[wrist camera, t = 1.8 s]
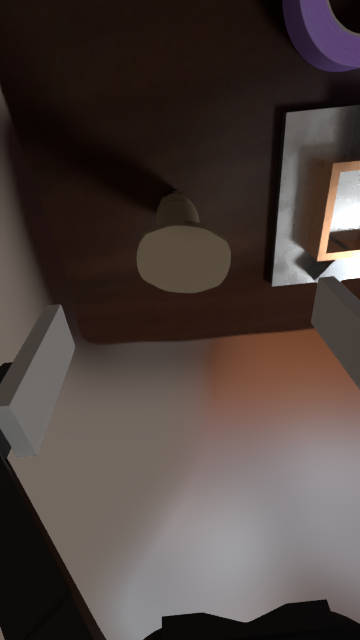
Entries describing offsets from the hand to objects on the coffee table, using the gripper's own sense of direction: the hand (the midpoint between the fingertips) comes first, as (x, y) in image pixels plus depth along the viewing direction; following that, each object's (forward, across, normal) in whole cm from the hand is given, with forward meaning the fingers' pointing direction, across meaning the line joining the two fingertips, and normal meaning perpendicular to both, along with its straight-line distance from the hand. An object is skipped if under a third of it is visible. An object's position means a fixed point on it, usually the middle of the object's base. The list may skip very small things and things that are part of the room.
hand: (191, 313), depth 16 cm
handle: (+22, 0, 0) cm, 22 cm away
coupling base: (+21, +19, -1) cm, 29 cm away
